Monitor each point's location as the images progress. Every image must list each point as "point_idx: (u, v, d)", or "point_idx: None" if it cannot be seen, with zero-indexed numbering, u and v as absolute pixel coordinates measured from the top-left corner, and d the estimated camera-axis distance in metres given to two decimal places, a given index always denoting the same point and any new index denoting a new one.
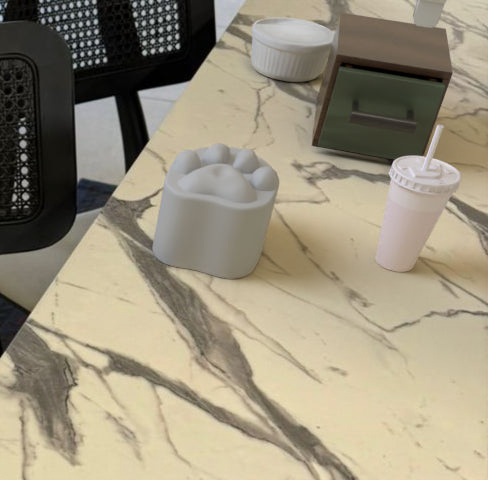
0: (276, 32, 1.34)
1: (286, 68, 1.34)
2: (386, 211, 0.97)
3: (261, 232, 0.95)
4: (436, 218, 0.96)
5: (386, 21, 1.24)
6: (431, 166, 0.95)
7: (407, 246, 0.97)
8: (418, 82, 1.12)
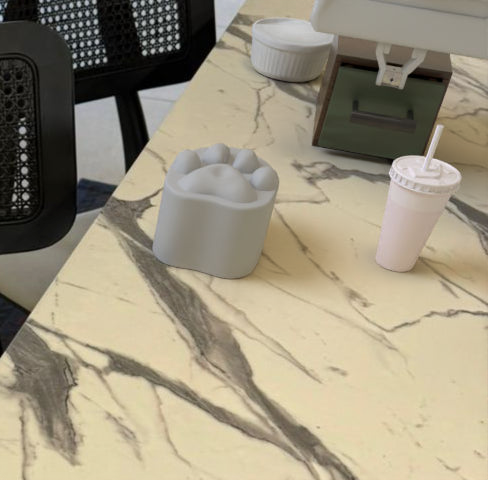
0: (276, 32, 1.34)
1: (286, 68, 1.34)
2: (386, 211, 0.97)
3: (261, 232, 0.95)
4: (436, 218, 0.96)
5: None
6: (431, 166, 0.95)
7: (407, 246, 0.97)
8: (418, 81, 1.12)
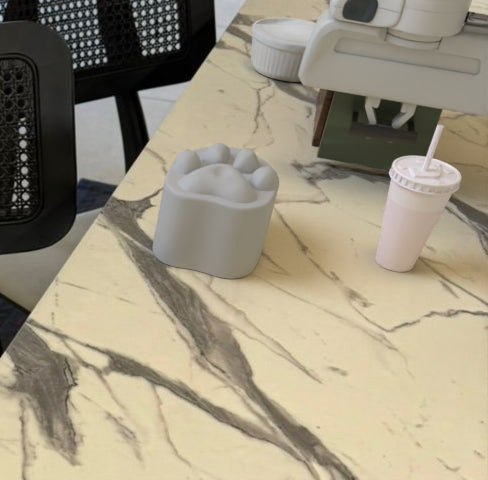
0: (276, 32, 1.34)
1: (286, 68, 1.34)
2: (386, 211, 0.97)
3: (261, 232, 0.95)
4: (436, 218, 0.96)
5: None
6: (431, 166, 0.95)
7: (407, 246, 0.97)
8: None
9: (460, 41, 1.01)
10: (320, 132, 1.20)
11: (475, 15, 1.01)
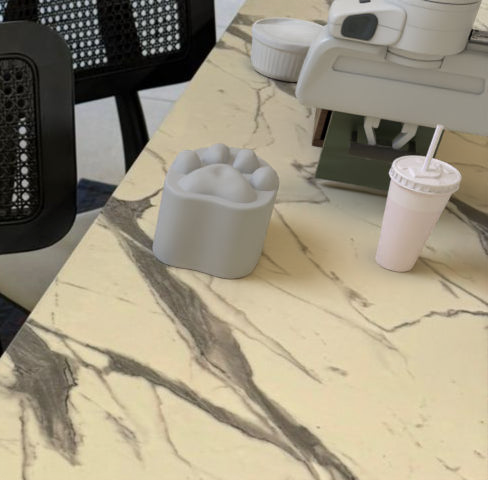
0: (276, 32, 1.34)
1: (286, 68, 1.34)
2: (386, 211, 0.97)
3: (261, 232, 0.95)
4: (436, 218, 0.96)
5: None
6: (431, 166, 0.95)
7: (407, 246, 0.97)
8: None
9: (463, 60, 0.97)
10: (320, 132, 1.20)
11: (479, 33, 0.97)
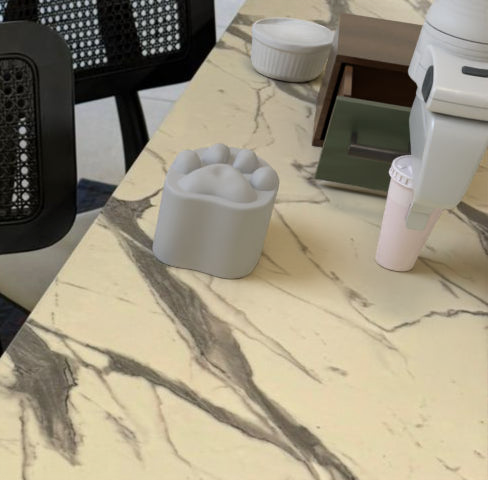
0: (276, 32, 1.34)
1: (286, 68, 1.34)
2: (386, 210, 0.97)
3: (261, 232, 0.95)
4: (436, 217, 0.96)
5: (386, 21, 1.24)
6: None
7: (407, 245, 0.97)
8: None
9: None
10: (320, 132, 1.20)
11: None
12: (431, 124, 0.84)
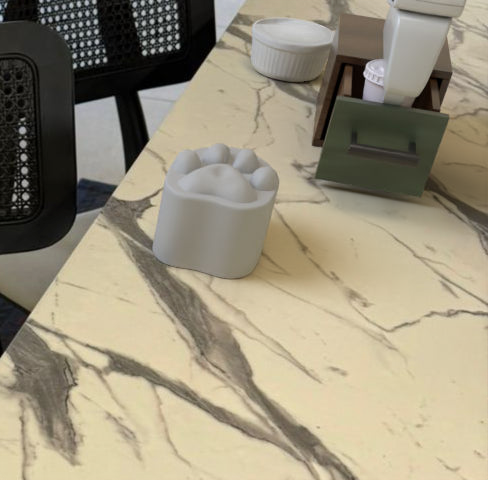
0: (276, 32, 1.34)
1: (286, 68, 1.34)
2: None
3: (261, 232, 0.95)
4: None
5: None
6: None
7: None
8: (420, 112, 1.05)
9: None
10: (320, 132, 1.20)
11: None
12: (397, 20, 0.97)
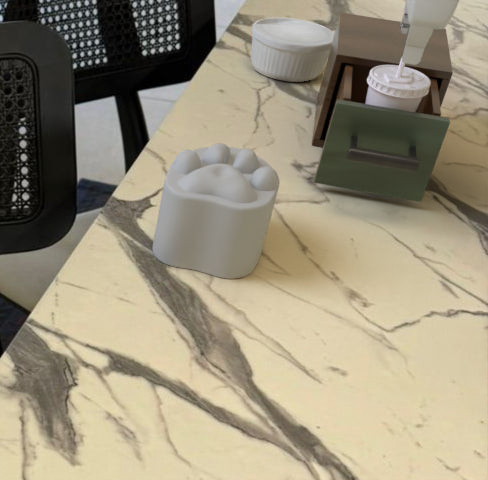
0: (276, 32, 1.34)
1: (286, 68, 1.34)
2: None
3: (261, 232, 0.95)
4: None
5: (386, 21, 1.24)
6: (404, 73, 1.07)
7: None
8: (421, 116, 1.04)
9: None
10: (320, 132, 1.20)
11: None
12: None
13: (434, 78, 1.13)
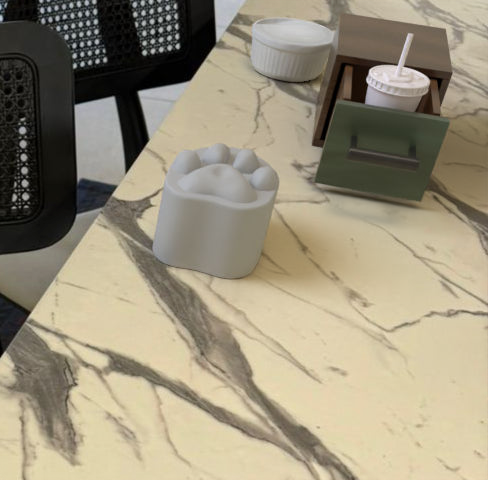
0: (276, 32, 1.34)
1: (286, 68, 1.34)
2: None
3: (261, 232, 0.95)
4: None
5: (386, 21, 1.24)
6: (403, 73, 1.07)
7: None
8: (421, 116, 1.04)
9: None
10: (320, 132, 1.20)
11: None
12: None
13: (434, 78, 1.13)
